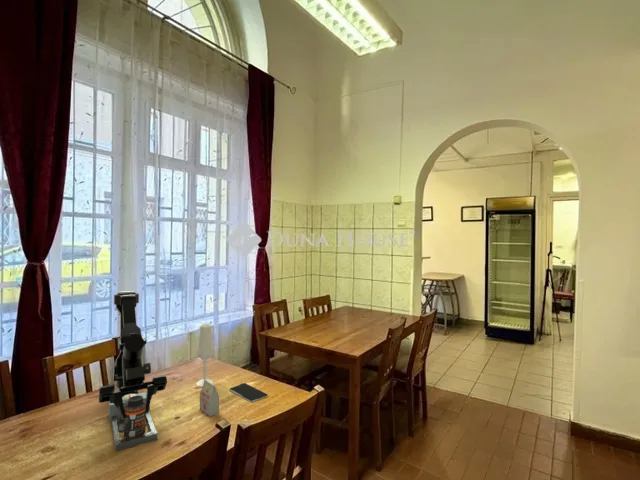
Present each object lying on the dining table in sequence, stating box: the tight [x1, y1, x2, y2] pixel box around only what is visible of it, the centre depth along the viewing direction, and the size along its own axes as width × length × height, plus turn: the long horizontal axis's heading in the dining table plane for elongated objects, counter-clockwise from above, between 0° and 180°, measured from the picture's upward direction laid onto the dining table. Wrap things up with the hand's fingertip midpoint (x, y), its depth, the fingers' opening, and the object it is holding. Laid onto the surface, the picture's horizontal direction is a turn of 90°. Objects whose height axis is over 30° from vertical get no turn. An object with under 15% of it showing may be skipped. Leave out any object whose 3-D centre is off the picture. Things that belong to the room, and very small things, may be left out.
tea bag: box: [199, 380, 220, 417], centre depth 123 cm, size 4×7×10 cm, turn 45°
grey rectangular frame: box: [111, 410, 159, 452], centre depth 110 cm, size 20×11×2 cm, turn 34°
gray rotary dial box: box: [108, 391, 151, 422], centre depth 121 cm, size 5×12×6 cm, turn 123°
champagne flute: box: [195, 323, 214, 387], centre depth 147 cm, size 7×7×24 cm
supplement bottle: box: [123, 396, 147, 439], centre depth 107 cm, size 6×6×11 cm
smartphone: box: [229, 382, 269, 403], centre depth 138 cm, size 8×1×15 cm
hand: (135, 415), depth 106 cm, fingers closed on supplement bottle, 6 cm apart
